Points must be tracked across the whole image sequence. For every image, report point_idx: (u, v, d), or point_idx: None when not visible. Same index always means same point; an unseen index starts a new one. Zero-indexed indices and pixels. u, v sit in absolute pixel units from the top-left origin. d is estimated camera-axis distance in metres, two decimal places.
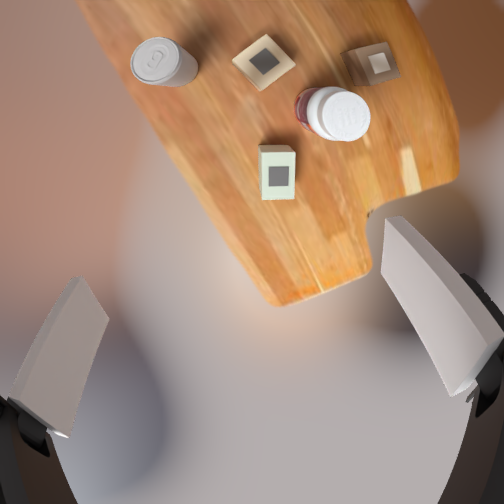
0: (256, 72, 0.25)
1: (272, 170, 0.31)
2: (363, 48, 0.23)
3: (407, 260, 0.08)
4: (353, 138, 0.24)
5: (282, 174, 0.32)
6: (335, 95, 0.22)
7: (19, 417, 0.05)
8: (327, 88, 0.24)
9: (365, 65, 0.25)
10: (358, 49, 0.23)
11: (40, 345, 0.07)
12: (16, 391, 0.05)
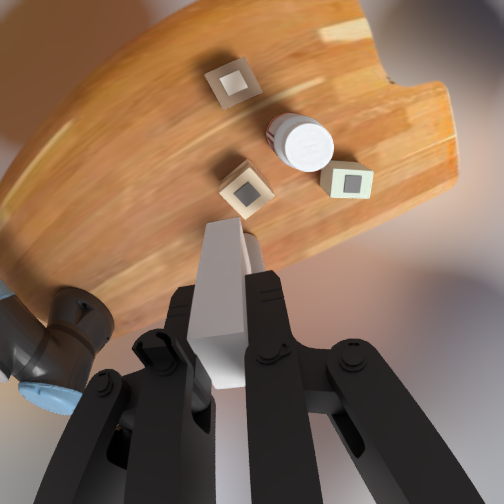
0: (258, 200, 0.35)
1: (346, 189, 0.34)
2: (220, 100, 0.28)
3: None
4: (331, 141, 0.25)
5: (351, 181, 0.34)
6: (289, 159, 0.26)
7: (196, 380, 0.06)
8: (277, 151, 0.28)
9: (239, 97, 0.28)
10: (222, 106, 0.28)
11: (214, 277, 0.09)
12: (201, 329, 0.07)
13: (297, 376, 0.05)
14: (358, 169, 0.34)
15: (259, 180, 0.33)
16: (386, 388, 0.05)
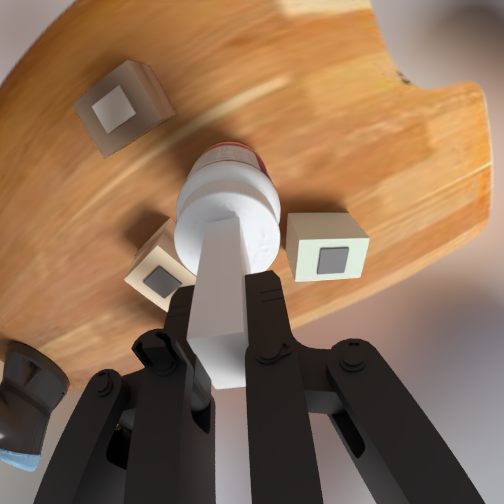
0: None
1: (322, 269, 0.22)
2: (97, 143, 0.15)
3: None
4: (273, 227, 0.13)
5: (330, 257, 0.21)
6: (189, 265, 0.14)
7: (195, 380, 0.06)
8: None
9: (125, 134, 0.15)
10: (102, 151, 0.16)
11: (213, 278, 0.09)
12: (201, 329, 0.07)
13: (297, 376, 0.05)
14: (344, 236, 0.21)
15: (176, 263, 0.21)
16: (386, 388, 0.05)
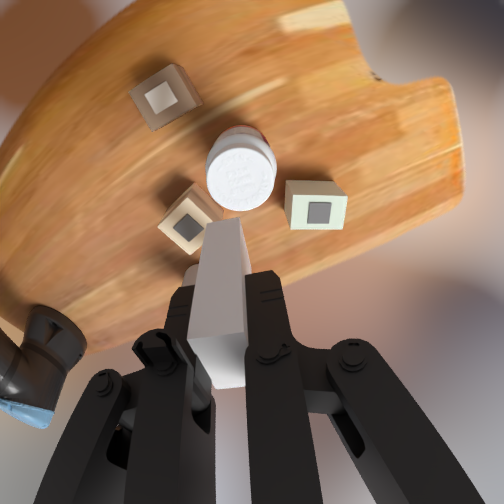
0: (201, 234, 0.30)
1: (311, 219, 0.29)
2: (147, 121, 0.23)
3: None
4: (270, 170, 0.20)
5: (317, 209, 0.28)
6: (215, 196, 0.21)
7: (196, 380, 0.06)
8: None
9: (169, 115, 0.23)
10: (150, 127, 0.23)
11: (214, 278, 0.09)
12: (201, 329, 0.07)
13: (297, 376, 0.05)
14: (327, 194, 0.28)
15: (200, 212, 0.28)
16: (386, 388, 0.05)
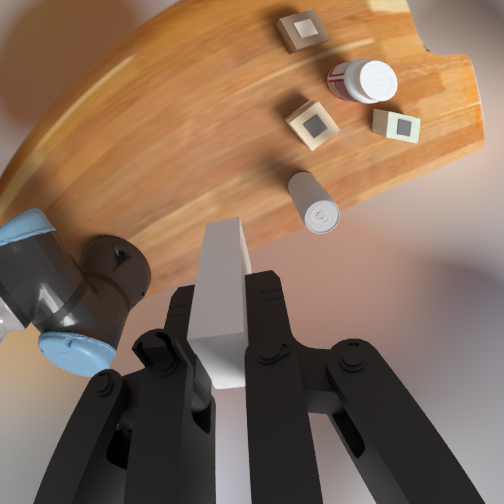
0: (324, 132, 0.33)
1: (399, 131, 0.33)
2: (293, 41, 0.27)
3: None
4: (395, 78, 0.24)
5: (403, 124, 0.32)
6: (363, 87, 0.25)
7: (196, 380, 0.06)
8: (348, 85, 0.27)
9: (310, 41, 0.26)
10: (296, 45, 0.27)
11: (214, 277, 0.09)
12: (201, 329, 0.07)
13: (297, 376, 0.05)
14: None
15: (326, 114, 0.32)
16: (386, 388, 0.05)
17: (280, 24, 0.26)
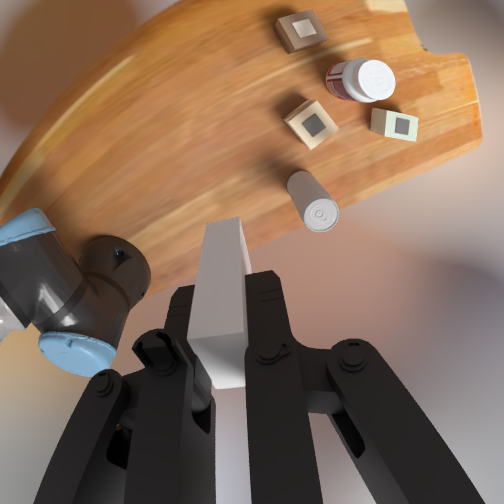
0: (323, 132, 0.34)
1: (397, 130, 0.33)
2: (292, 41, 0.27)
3: None
4: (393, 77, 0.24)
5: (401, 123, 0.33)
6: (362, 86, 0.25)
7: (196, 380, 0.06)
8: (346, 84, 0.27)
9: (309, 40, 0.27)
10: (294, 45, 0.27)
11: (214, 277, 0.09)
12: (201, 329, 0.07)
13: (297, 376, 0.05)
14: None
15: (325, 113, 0.32)
16: (386, 388, 0.05)
17: (278, 24, 0.26)
